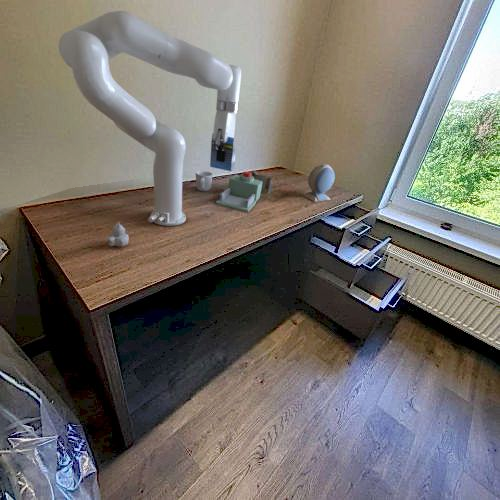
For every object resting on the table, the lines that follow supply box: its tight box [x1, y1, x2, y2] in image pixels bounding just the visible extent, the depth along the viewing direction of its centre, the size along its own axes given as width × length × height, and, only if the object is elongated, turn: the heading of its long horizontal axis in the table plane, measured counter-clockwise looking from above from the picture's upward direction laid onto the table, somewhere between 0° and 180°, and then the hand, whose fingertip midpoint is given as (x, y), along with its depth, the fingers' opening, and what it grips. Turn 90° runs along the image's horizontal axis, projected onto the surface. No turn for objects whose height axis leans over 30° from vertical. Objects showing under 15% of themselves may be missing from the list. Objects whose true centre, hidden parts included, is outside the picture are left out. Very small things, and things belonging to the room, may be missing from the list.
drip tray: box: [215, 187, 257, 213], centre depth 124 cm, size 12×15×4 cm
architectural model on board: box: [251, 169, 275, 195], centre depth 142 cm, size 11×3×10 cm, turn 56°
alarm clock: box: [302, 163, 336, 203], centre depth 144 cm, size 14×10×18 cm
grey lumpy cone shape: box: [106, 221, 130, 248], centre depth 81 cm, size 5×7×8 cm
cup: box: [195, 170, 214, 192], centre depth 131 cm, size 11×8×8 cm
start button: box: [242, 171, 252, 178], centre depth 129 cm, size 4×4×2 cm
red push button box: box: [228, 173, 263, 202], centre depth 132 cm, size 8×14×10 cm, turn 72°
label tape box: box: [209, 132, 237, 172], centre depth 104 cm, size 9×4×12 cm, turn 72°
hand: (222, 159), depth 106 cm, fingers closed on label tape box, 4 cm apart
